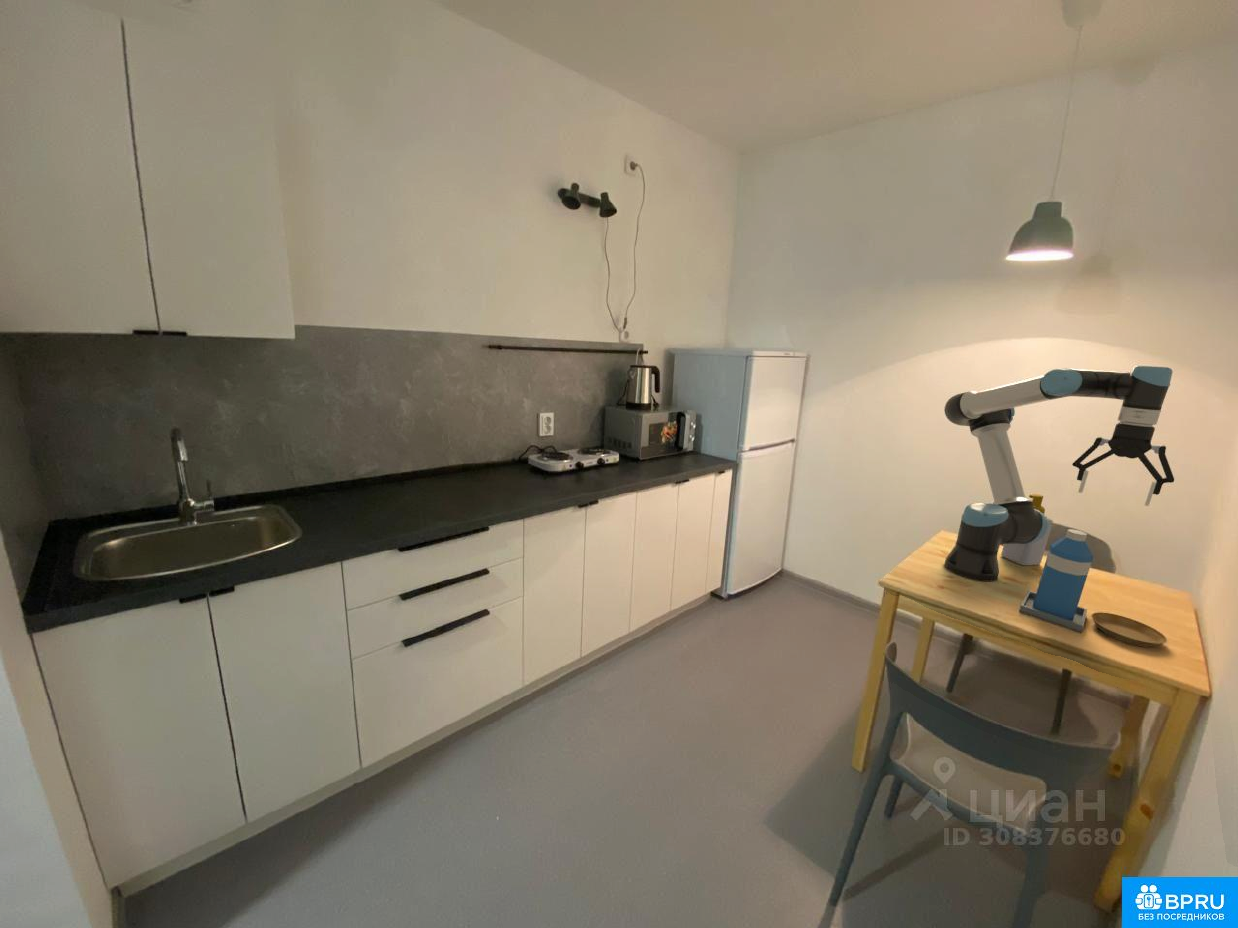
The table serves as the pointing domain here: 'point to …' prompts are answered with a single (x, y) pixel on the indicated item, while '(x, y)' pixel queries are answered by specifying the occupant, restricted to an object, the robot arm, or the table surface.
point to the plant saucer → (1128, 630)
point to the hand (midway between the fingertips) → (1112, 498)
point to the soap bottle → (1029, 551)
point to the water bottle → (1064, 575)
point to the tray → (1069, 624)
